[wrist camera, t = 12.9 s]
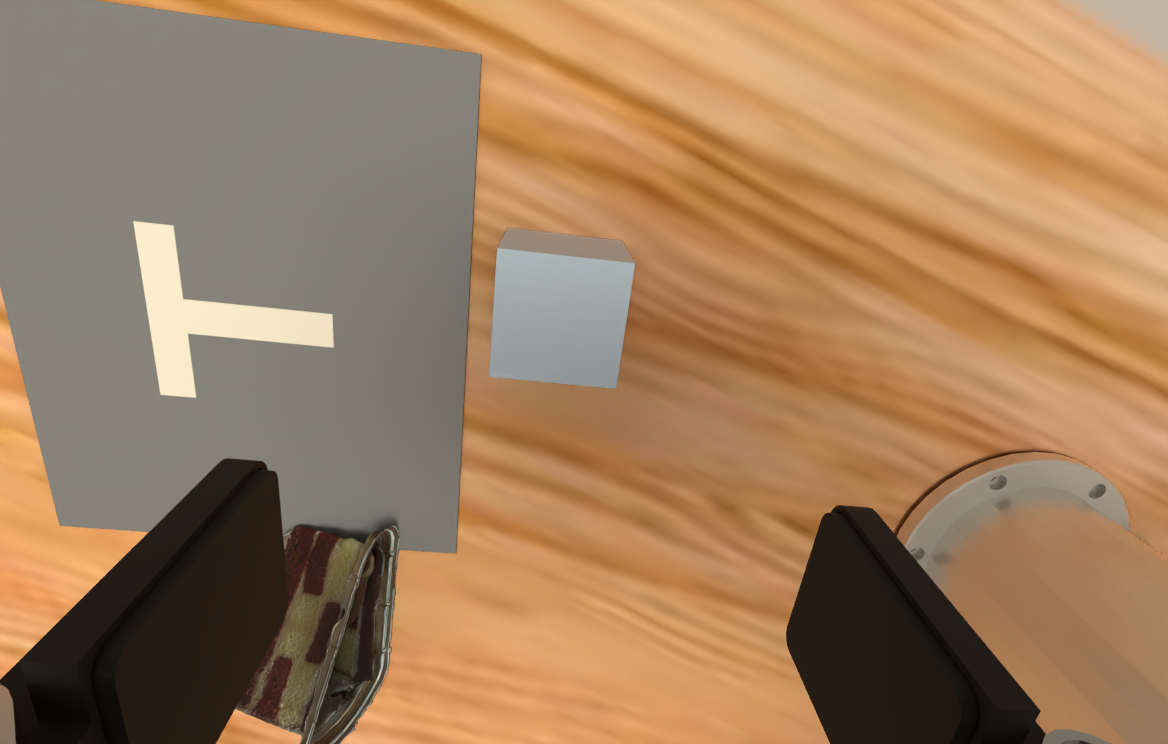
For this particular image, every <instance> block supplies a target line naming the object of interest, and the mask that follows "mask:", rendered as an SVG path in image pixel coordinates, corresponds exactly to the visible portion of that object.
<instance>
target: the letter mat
mask: <svg viewBox="0 0 1168 744" xmlns="http://www.w3.org/2000/svg"><path fill="white" fill-rule="evenodd" d="M480 74H481V54H475V53H468V52H461V51H454V50H447V49H439V48H432V47H425V46H418V45H411V44H404V43H396V42H389V41H382V40H375V39H368V38H361V37H353V36H346V35H339V34H332V33H325V32H318V31H310V30H303V29H296V28H289V27H282V26H275V25H267V24H260V23H253V22H246V21H239V20H232V19H224V18H217V17H210V16H203V15H196V14H189V13H181V12H174V11H167V10H160V9H153V8H146V7H138V6H131V5H124V4H117V3H110V2H103V1H95V0H0V287H1V291H2V295H3V299H4V303H5V307H6V311H7V315H8V319H9V323H10V327H11V331H12V335H13V339H14V343H15V347H16V351H17V356H18V360H19V364H20V368H21V372H22V376H23V380H24V384H25V388H26V392H27V396H28V400H29V404H30V408H31V412H32V416H33V420H34V424H35V428H36V432H37V436H38V440H39V444H40V448H41V452H42V456H43V460H44V464H45V468H46V472H47V476H48V480H49V484H50V488H51V492H52V496H53V500H54V504H55V508H56V512H57V516H58V521H59V525H60V526H72V527H86V528H100V529H115V530H129V531H143V532H150V531H151V530H152V529H153V528H154V527H155V526H156V525H157V524H158V523H159V522H160V521H161V520H162V519H163V518H164V517H165V516H166V515H167V514H168V513H169V512H170V511H171V510H172V509H173V508H174V507H175V506H176V505H177V504H178V503H179V502H180V501H181V500H182V499H183V498H184V497H185V496H186V495H187V494H188V493H189V492H190V491H191V490H192V489H193V488H194V487H195V486H196V485H197V484H198V483H199V482H200V481H201V480H202V479H203V478H204V477H205V476H206V475H207V474H208V473H209V472H210V471H211V470H212V469H213V468H214V467H215V466H216V465H217V464H218V463H219V462H220V461H222V460H223V459H226V458H231V459H244V460H257V461H263V462H265V464H266V465H267V468H268V470H271V471H275V472H276V473H277V475H278V482H279V494H280V505H281V517H282V529H283V535H284V534H286V533H288V532H290V531H291V530H292V529H293V528H294V527H296V526H302V527H307V528H310V529H312V530H315V531H322V532H324V533H334V534H337V535H339V536H340V537H341V538H344V539H348V538H354V539H355V540H357V541H359V542H361V543H363V544H364V543H365V542H366V540H367V538H368V536H369V535H370V534H371V533H372V532H373V531H377V530H380V531H384V530H386V529H389V528H390V527H392V526H396V528H397V530H398V534H399V535H398V536H400V538H399V539H400V542H399V546H398V550H412V551H426V552H440V553H455V554H456V546H457V527H458V507H459V487H460V467H461V448H462V428H463V408H464V389H465V369H466V349H467V330H468V310H469V290H470V270H471V251H472V231H473V211H474V192H475V172H476V152H477V133H478V113H479V93H480Z"/></svg>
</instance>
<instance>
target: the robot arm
mask: <svg viewBox="0 0 1168 744" xmlns="http://www.w3.org/2000/svg"><path fill="white" fill-rule="evenodd" d="M1129 529H1130V528H1129V515H1128V510H1127V507H1126V504H1125V502H1124V499H1123V496H1122V495H1121V494H1120V492H1119V491H1118V490H1117V488H1116V487H1115V486H1114V484H1113V483H1112V482H1111V481H1109V480H1108V479H1107V478H1105V477H1104V476H1103V475H1101V474H1100V473H1099V472H1097V471H1096V470H1094V469H1092V468H1091V467H1089V466H1087V465H1085V464H1084V463H1082V462H1080V461H1078V460H1077V459H1073V458H1070V457H1067V456H1063V455H1060V454H1054V453H1043V452H1028V453H1016V454H1010V455H1006V456H1002V457H998V458H994V459H990V460H987V461H985V462H982V463H980V464H977V465H975V466H972V467H970V468H967V469H966V470H964V471H962V472H960V473H959V474H957V475H955V476H953V477H952V478H950V479H948V480H947V481H945V482H944V483H943V484H941V485H940V486H939V487H937V488H936V489H935V490H934V491H932V492H931V493H930V494H929V495H927V496H926V497H925V498H924V500H923V501H922V502H921V503H920V504H919V505H918V506H917V507H916V508H915V509H914V510H913V511H912V512H911V514H910V515H909V517H908V518H907V520H906V521H905V523H904V524H903V526H902V527H901V529H900V531H899V533H898V535H897V537H896V536H895V534H894V533H893V532H892V531H891V530H890V528H889V527H888V526H887V525H886V523H885V522H884V521H883V520H882V519H881V517H880V516H879V515H878V514H877V513H876V512H875V511H874V510H873V509H871V508H867V507H854V506H841V505H839V506H836V507H835V508H834V509H833V510H832V512H831V513H826V514H825V515H824V516H823V518H822V520H821V523H820V526H819V529H818V532H817V535H816V538H815V541H814V545H813V548H812V551H811V554H810V557H809V560H808V563H807V567H806V570H805V573H804V576H803V579H802V582H801V585H800V588H799V592H798V595H797V598H796V601H795V604H794V607H793V610H792V613H791V617H790V620H789V623H788V626H787V631H786V639H787V646H788V649H789V652H790V654H791V656H792V659H793V661H794V663H795V665H796V668H797V670H798V672H799V674H800V677H801V679H802V681H803V683H804V686H805V688H806V690H807V692H808V695H809V697H810V699H811V701H812V704H813V706H814V708H815V710H816V713H817V715H818V717H819V719H820V722H821V724H822V726H823V728H824V731H825V733H826V735H827V737H828V740H829V742H830V744H1168V559H1166V558H1165V557H1163V556H1162V555H1161V554H1159V553H1158V552H1156V551H1155V550H1154V549H1152V548H1151V547H1149V546H1148V545H1146V544H1145V543H1144V542H1142V541H1141V540H1139V539H1138V538H1137V537H1135V536H1134V535H1132V534H1131V533H1130V532H1129ZM287 608H288V587H287V575H286V564H285V552H284V540H283V529H282V517H281V505H280V494H279V482H278V475H277V473H276V472H275V471H271V470H268V468H267V465H266V464H265V462H263V461H257V460H244V459H231V458H226V459H223V460H222V461H220V462H219V463H218V464H217V465H216V466H215V467H214V468H213V469H212V470H211V471H210V472H209V473H208V474H207V475H206V476H205V477H204V478H203V479H202V480H201V481H200V482H199V483H198V484H197V485H196V486H195V487H194V488H193V489H192V490H191V491H190V492H189V493H188V494H187V495H186V496H185V497H184V498H183V499H182V500H181V501H180V502H179V503H178V504H177V505H176V506H175V507H174V508H173V509H172V510H171V511H170V512H169V513H168V514H167V515H166V516H165V517H164V518H163V519H162V520H161V521H160V522H159V523H158V524H157V525H156V526H155V527H154V528H153V529H152V530H151V531H150V532H149V533H148V534H147V535H146V536H145V537H144V538H143V539H142V540H141V541H140V542H139V543H138V544H137V545H135V546H134V547H133V548H132V549H131V550H130V551H129V552H128V553H127V554H126V555H125V556H124V557H123V558H122V559H121V560H120V561H119V562H118V563H117V564H116V565H115V566H114V567H113V568H112V569H111V570H110V571H109V572H108V573H107V574H106V575H105V576H104V577H103V578H102V579H101V580H100V581H99V582H98V583H97V584H96V585H95V586H94V587H93V588H92V589H91V590H90V591H89V592H88V593H87V594H86V595H85V596H84V597H83V598H82V599H81V600H80V601H79V602H78V603H77V604H76V605H75V606H74V607H73V608H72V609H71V610H70V611H69V612H68V613H67V614H66V615H65V616H64V617H63V618H62V619H61V620H60V621H59V622H58V623H57V624H56V625H55V626H54V627H53V628H52V629H51V630H50V631H49V632H48V633H47V634H46V635H45V636H44V637H43V638H42V639H41V640H40V641H39V642H38V643H37V644H36V645H35V646H34V647H33V648H32V649H31V650H30V651H29V652H28V653H27V654H26V655H25V656H24V657H23V658H22V659H21V660H20V661H19V662H18V663H17V664H16V665H15V666H14V667H13V668H12V669H11V670H10V671H9V672H8V673H7V674H6V675H5V676H4V677H3V678H2V679H1V680H0V744H216V742H217V740H218V739H219V737H220V735H221V733H222V731H223V729H224V728H225V726H226V724H227V722H228V720H229V719H230V717H231V715H232V713H233V711H234V710H235V708H236V706H237V704H238V702H239V701H240V699H241V697H242V695H243V693H244V691H245V690H246V688H247V686H248V684H249V682H250V681H251V679H252V677H253V675H254V673H255V672H256V670H257V668H258V666H259V664H260V663H261V661H262V659H263V657H264V655H265V654H266V652H267V650H268V648H269V646H270V644H271V643H272V641H273V639H274V637H275V635H276V634H277V632H278V630H279V628H280V626H281V625H282V623H283V620H284V618H285V615H286V612H287Z"/></svg>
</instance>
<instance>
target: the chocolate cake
mask: <svg viewBox="0 0 1168 744" xmlns="http://www.w3.org/2000/svg"><path fill="white" fill-rule="evenodd" d="M398 535H399V534H398V530H397V528H396V526H392V527H390V528H389V529H386V530H384V531H380V530H377V531H373V532H372V533H371V534H370V535H369V536H368V538H367V540H366V542H365V543H364V544H363V543H361V542H359V541H357V540H355V539H354V538H348V539H344V538H341V537H340V536H339V535H337V534H334V533H324V532H322V531H315V530H312V529H310V528H307V527H302V526H296V527H294V528H293V529H292V530H291V531H290V532H288V533H286V534H284V535H283V540H284V552H285V564H286V575H287V587H288V608H287V612H286V615H285V618H284V620H283V623H282V625H281V626H280V628H279V630H278V632H277V634H276V635H275V637H274V639H273V641H272V643H271V644H270V646H269V648H268V650H267V652H266V654H265V655H264V657H263V659H262V661H261V663H260V664H259V666H258V668H257V670H256V672H255V673H254V675H253V677H252V679H251V681H250V682H249V684H248V686H247V688H246V690H245V691H244V693H243V695H242V697H241V699H240V701H239V702H238V704H237V706H236V708H235V709H237V710H239V711H241V712H243V713H245V714H247V715H250V716H253V717H256V718H258V719H260V720H263V721H264V722H267V723H269V724H272V725H275V726H278V727H280V728H282V729H285V730H288V731H290V732H294V733H297V734H300V735H301V736H302V739H301V742H300V744H341V741H343V739H344V738H345V737H346V736H347V735H349V734H350V733H351V732H353V731H354V730H356V729H355V724H357V723H358V720H359V718H360V717H362V716H363V714H364V713H365V711H366V710H367V708H368V707H369V706H370V705H371V704H372V702H373V699H374V697H375V696H376V694H377V692H378V690H380V687H381V686H382V683H383V682H384V679H385V678H384V677H385V675H386V671H387V670H388V665H389V664H388V663H389V654H390V652H391V648H390V649H389V642H390V641H391V631H392V618H393V617H392V614H393V609H394V604H393V602H394V596H395V589H394V581H395V578H394V577H395V573H396V569H397V568H396V566H397V565H396V561H397V555H398V546H399V542H400V539H399V538H400V536H398Z"/></svg>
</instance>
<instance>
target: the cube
mask: <svg viewBox="0 0 1168 744" xmlns="http://www.w3.org/2000/svg"><path fill="white" fill-rule="evenodd" d="M634 268H635V262H634V261H633V259H632V257H631V255H630V254H629V252H628V250H627V249H626V247H625V245H624V243H623V242H622V240H613V239H604V238H596V237H587V236H578V235H570V234H561V233H552V232H543V231H535V230H526V229H517V228H509V227H508V228H507V230H506V232H505V234H504V236H503V238H502V240H501V242H500V244H499V246H498V248H497V260H496V276H495V291H494V306H493V321H492V336H491V352H490V367H489V377H496V378H506V379H517V380H528V381H538V382H549V383H560V384H570V385H581V386H592V387H602V388H613V389H616V387H617V380H618V373H619V367H620V360H621V354H622V347H623V341H624V334H625V327H626V321H627V314H628V308H629V301H630V295H631V288H632V281H633V275H634Z"/></svg>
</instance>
